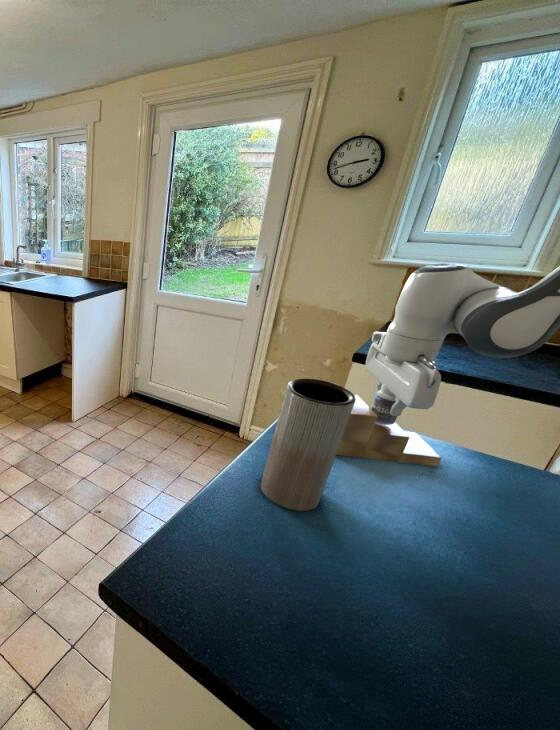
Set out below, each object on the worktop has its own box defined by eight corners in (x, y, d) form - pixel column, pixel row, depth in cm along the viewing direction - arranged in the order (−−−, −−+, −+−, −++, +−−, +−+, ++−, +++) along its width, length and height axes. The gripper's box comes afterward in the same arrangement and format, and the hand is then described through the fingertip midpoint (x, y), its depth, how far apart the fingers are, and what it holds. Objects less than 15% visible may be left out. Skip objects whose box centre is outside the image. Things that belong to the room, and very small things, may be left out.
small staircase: (410, 443, 96) (429, 401, 91) (436, 469, 87) (458, 424, 82) (310, 432, 100) (323, 391, 96) (325, 455, 92) (340, 412, 87)
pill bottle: (362, 416, 92) (375, 382, 88) (378, 413, 93) (391, 379, 89) (384, 427, 88) (398, 391, 84) (400, 423, 89) (414, 388, 85)
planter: (308, 483, 83) (342, 381, 73) (325, 517, 74) (367, 407, 65) (255, 475, 85) (281, 375, 76) (265, 508, 77) (296, 400, 67)
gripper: (461, 368, 73) (431, 434, 79) (402, 332, 91) (380, 388, 97) (420, 365, 75) (393, 430, 80) (369, 330, 92) (350, 386, 98)
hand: (386, 407), depth 89 cm, fingers closed on pill bottle, 5 cm apart
